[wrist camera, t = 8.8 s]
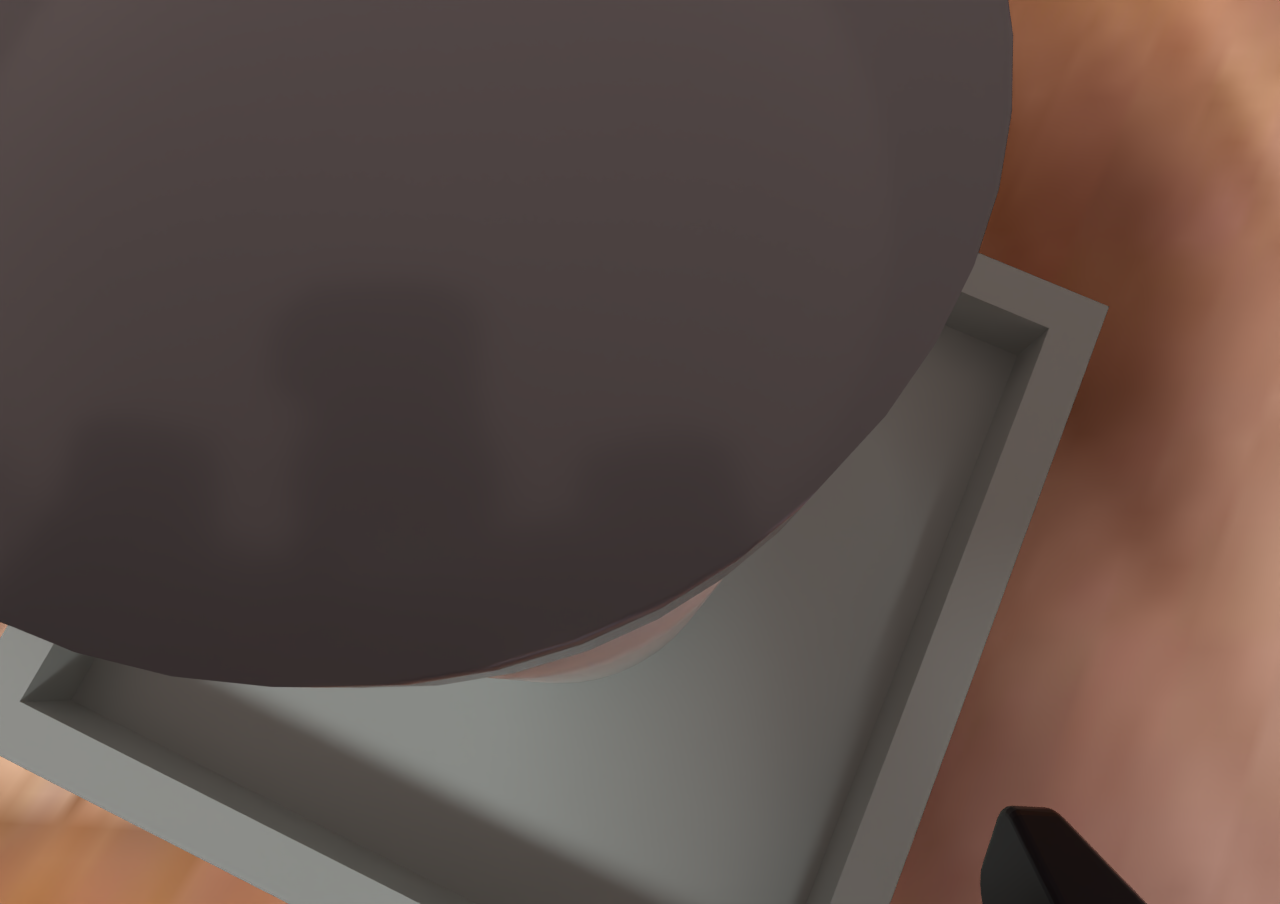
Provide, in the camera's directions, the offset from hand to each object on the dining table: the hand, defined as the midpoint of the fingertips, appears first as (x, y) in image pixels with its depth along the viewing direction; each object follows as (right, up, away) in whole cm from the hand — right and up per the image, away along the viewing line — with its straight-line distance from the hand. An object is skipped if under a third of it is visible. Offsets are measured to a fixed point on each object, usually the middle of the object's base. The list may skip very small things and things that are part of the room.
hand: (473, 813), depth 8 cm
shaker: (0, +2, +9) cm, 9 cm away
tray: (0, +2, +10) cm, 10 cm away
